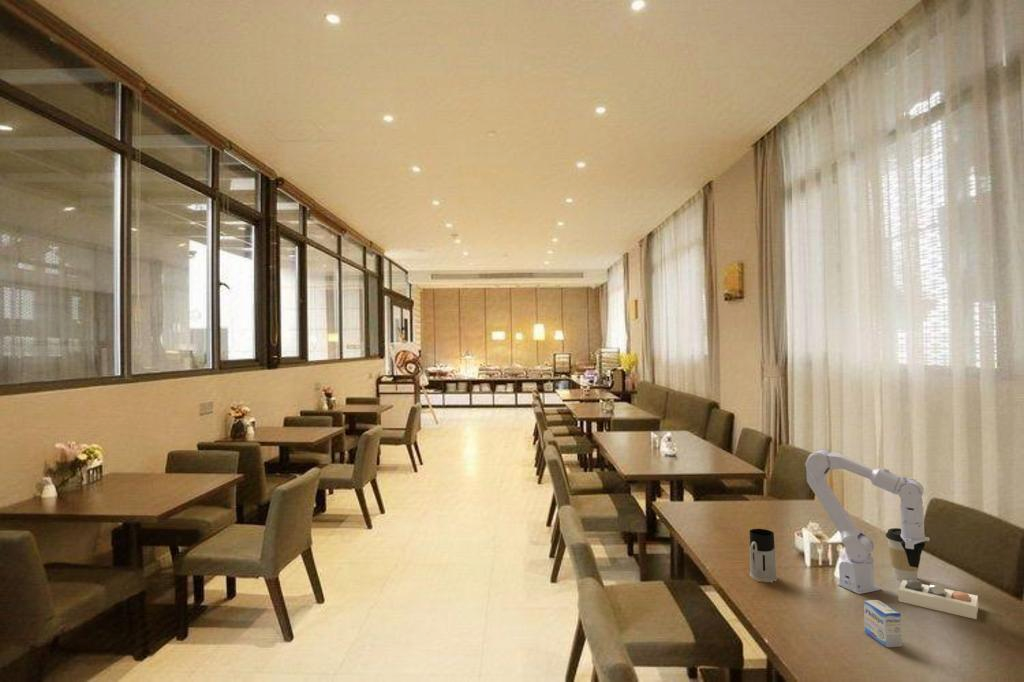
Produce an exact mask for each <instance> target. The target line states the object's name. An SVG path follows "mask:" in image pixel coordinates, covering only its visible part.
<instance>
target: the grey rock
mask: <svg viewBox="0 0 1024 682" xmlns="http://www.w3.org/2000/svg"><path fill="white" fill-rule="evenodd" d="M929 587H930V594H934V595H938V596H943V597H945V589H946V587H945V586H944V585H943V584H940V583H936V582H935V583H934V582H930V583H929Z"/></svg>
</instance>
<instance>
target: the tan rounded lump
mask: <svg viewBox="0 0 1024 682" xmlns="http://www.w3.org/2000/svg"><path fill="white" fill-rule="evenodd" d="M953 591H954V592H953V599H957V600H961V601H966V602H969V595H968V594H969V593H967V592H964V591H960V590H957V591H956V590H953Z"/></svg>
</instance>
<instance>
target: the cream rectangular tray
mask: <svg viewBox="0 0 1024 682" xmlns="http://www.w3.org/2000/svg"><path fill="white" fill-rule="evenodd" d="M954 591H955V590H952V589H948V588H945V597H943V596H938V595H934V594H930V587H929V585H928V584H924V583H922V592H920V591H915V590H911V589H907V581H906V580H902V581H901V583H900V584H899V587H898V589H897V594H898V595H897V596H898V602H899V603H900V602H901V603H905V604H909V605H913V606H918V607H922V608H926V609H931V610H934V611H939V612H942V613H943V612H944V613H948V614H951V615H956V616H961V617H964V618H970V619H973V620H977V618H978V612H979V596H978V595H977V594H976V595H975V594H973V593H972V594H971V593H967V594H968V595H969V602H966V601H961V600H957V599H953V592H954Z"/></svg>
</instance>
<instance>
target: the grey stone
mask: <svg viewBox="0 0 1024 682" xmlns="http://www.w3.org/2000/svg"><path fill="white" fill-rule="evenodd" d="M922 584H923V583H922V580H919V579H918V578H917V579H907V589H911V590H915V591H920V592H922Z"/></svg>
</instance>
